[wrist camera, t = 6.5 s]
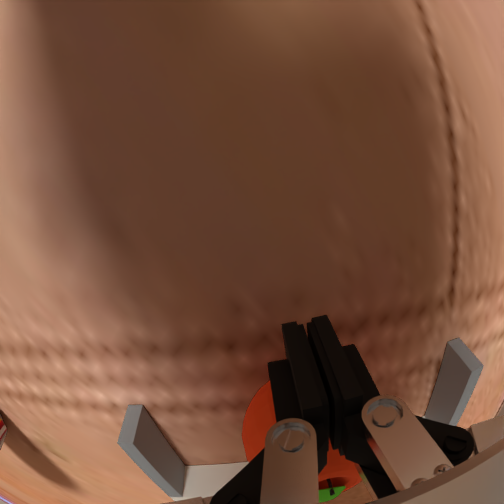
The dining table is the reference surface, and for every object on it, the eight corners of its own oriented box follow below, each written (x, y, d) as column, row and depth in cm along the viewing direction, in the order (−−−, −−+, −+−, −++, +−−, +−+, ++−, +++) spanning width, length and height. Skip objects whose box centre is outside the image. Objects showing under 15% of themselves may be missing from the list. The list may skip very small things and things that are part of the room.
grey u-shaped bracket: (128, 405, 16) (117, 442, 13) (459, 337, 15) (483, 365, 13) (177, 471, 19) (174, 501, 16) (431, 418, 19) (446, 444, 16)
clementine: (342, 422, 17) (371, 510, 11) (238, 430, 17) (242, 528, 10) (376, 329, 14) (440, 433, 8) (241, 333, 14) (248, 468, 7)
